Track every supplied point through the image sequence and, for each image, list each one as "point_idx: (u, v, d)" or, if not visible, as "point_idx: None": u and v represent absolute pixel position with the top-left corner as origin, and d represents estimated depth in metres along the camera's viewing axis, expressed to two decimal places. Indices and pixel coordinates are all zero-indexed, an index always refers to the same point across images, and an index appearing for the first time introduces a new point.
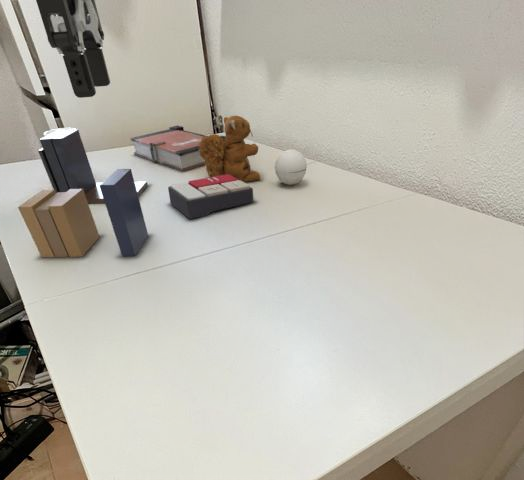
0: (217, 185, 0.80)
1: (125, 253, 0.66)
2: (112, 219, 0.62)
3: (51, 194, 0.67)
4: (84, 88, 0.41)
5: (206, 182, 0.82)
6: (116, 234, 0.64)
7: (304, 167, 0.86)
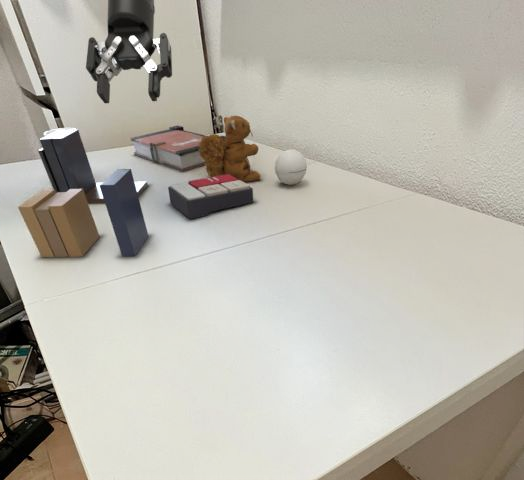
0: (217, 185, 0.80)
1: (125, 253, 0.66)
2: (112, 219, 0.62)
3: (51, 194, 0.67)
4: (158, 94, 0.65)
5: (206, 182, 0.82)
6: (116, 234, 0.64)
7: (304, 167, 0.86)
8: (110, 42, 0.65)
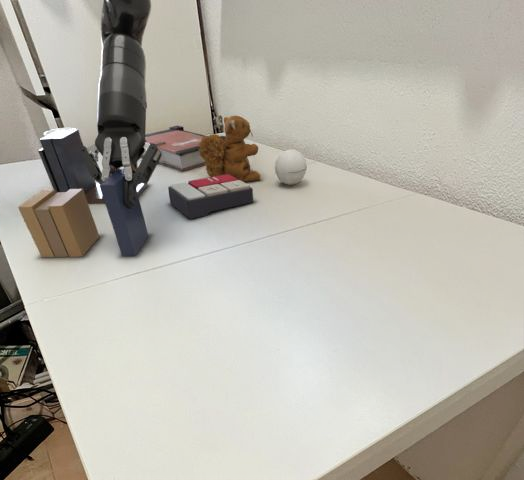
0: (217, 185, 0.80)
1: (125, 253, 0.66)
2: (112, 219, 0.62)
3: (51, 194, 0.67)
4: (134, 202, 0.63)
5: (206, 182, 0.82)
6: (116, 234, 0.64)
7: (304, 167, 0.86)
8: (100, 141, 0.62)
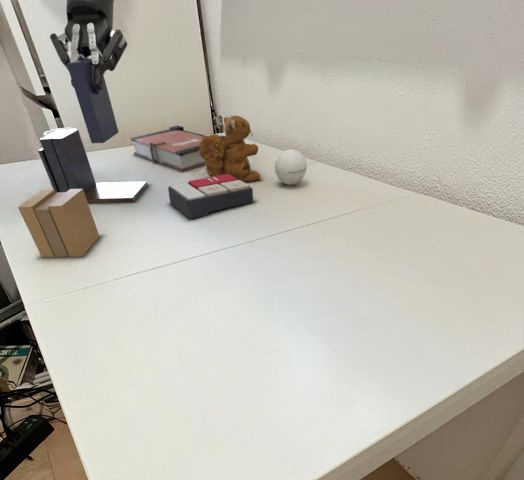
0: (217, 185, 0.80)
1: (94, 140, 0.71)
2: (80, 101, 0.67)
3: (51, 194, 0.67)
4: (101, 86, 0.67)
5: (205, 182, 0.82)
6: (85, 118, 0.68)
7: (304, 167, 0.86)
8: (69, 29, 0.67)
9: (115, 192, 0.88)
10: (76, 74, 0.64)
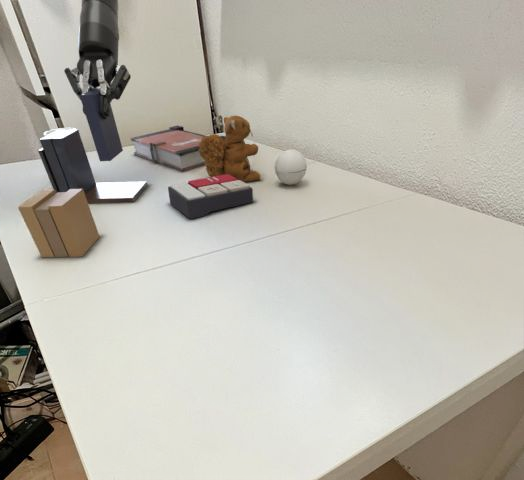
0: (217, 185, 0.80)
1: (102, 159, 0.82)
2: (91, 126, 0.78)
3: (51, 194, 0.67)
4: (108, 113, 0.78)
5: (205, 182, 0.82)
6: (94, 140, 0.79)
7: (304, 167, 0.86)
8: (81, 64, 0.78)
9: (115, 192, 0.88)
10: (87, 104, 0.75)
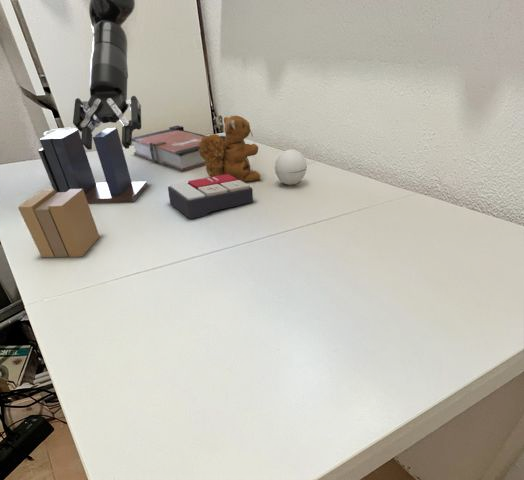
0: (217, 185, 0.80)
1: (113, 193, 0.87)
2: (103, 164, 0.83)
3: (51, 194, 0.67)
4: (130, 143, 0.82)
5: (205, 182, 0.82)
6: (106, 177, 0.84)
7: (304, 167, 0.86)
8: (92, 102, 0.82)
9: None
10: (100, 145, 0.80)
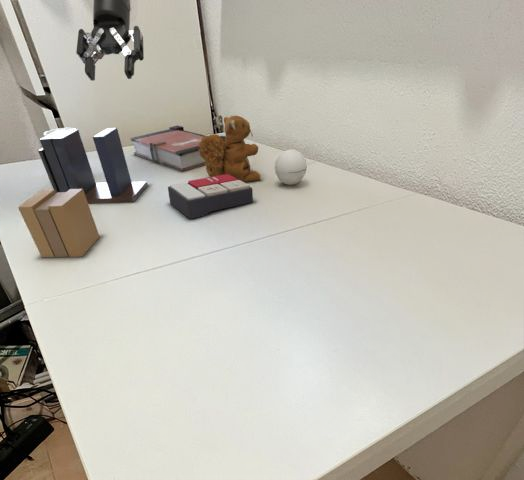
0: (217, 185, 0.80)
1: (113, 193, 0.87)
2: (103, 164, 0.83)
3: (51, 194, 0.67)
4: (132, 73, 0.84)
5: (205, 182, 0.82)
6: (106, 177, 0.84)
7: (304, 167, 0.86)
8: (95, 32, 0.84)
9: None
10: (100, 145, 0.80)
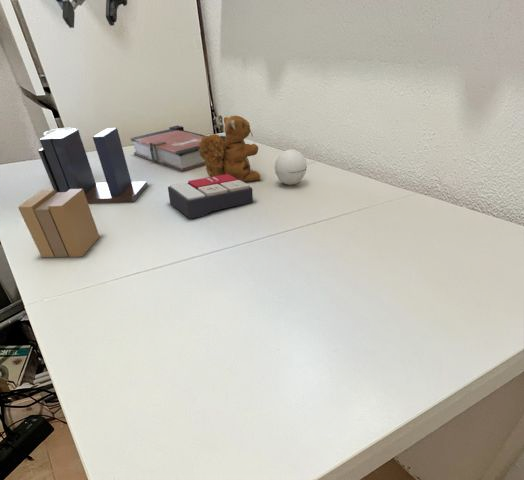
0: (217, 185, 0.80)
1: (113, 193, 0.87)
2: (103, 164, 0.83)
3: (51, 194, 0.67)
4: (115, 19, 0.76)
5: (205, 182, 0.82)
6: (106, 177, 0.84)
7: (304, 167, 0.86)
8: None
9: None
10: (100, 145, 0.80)
